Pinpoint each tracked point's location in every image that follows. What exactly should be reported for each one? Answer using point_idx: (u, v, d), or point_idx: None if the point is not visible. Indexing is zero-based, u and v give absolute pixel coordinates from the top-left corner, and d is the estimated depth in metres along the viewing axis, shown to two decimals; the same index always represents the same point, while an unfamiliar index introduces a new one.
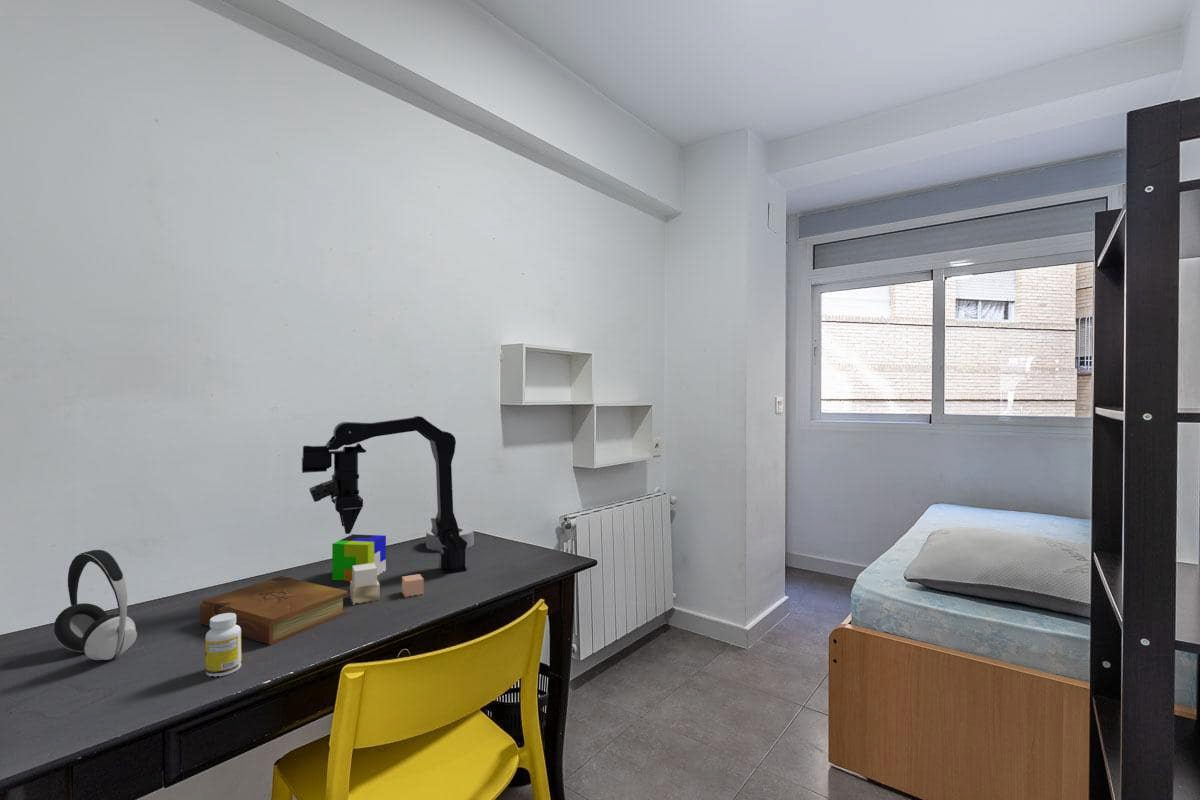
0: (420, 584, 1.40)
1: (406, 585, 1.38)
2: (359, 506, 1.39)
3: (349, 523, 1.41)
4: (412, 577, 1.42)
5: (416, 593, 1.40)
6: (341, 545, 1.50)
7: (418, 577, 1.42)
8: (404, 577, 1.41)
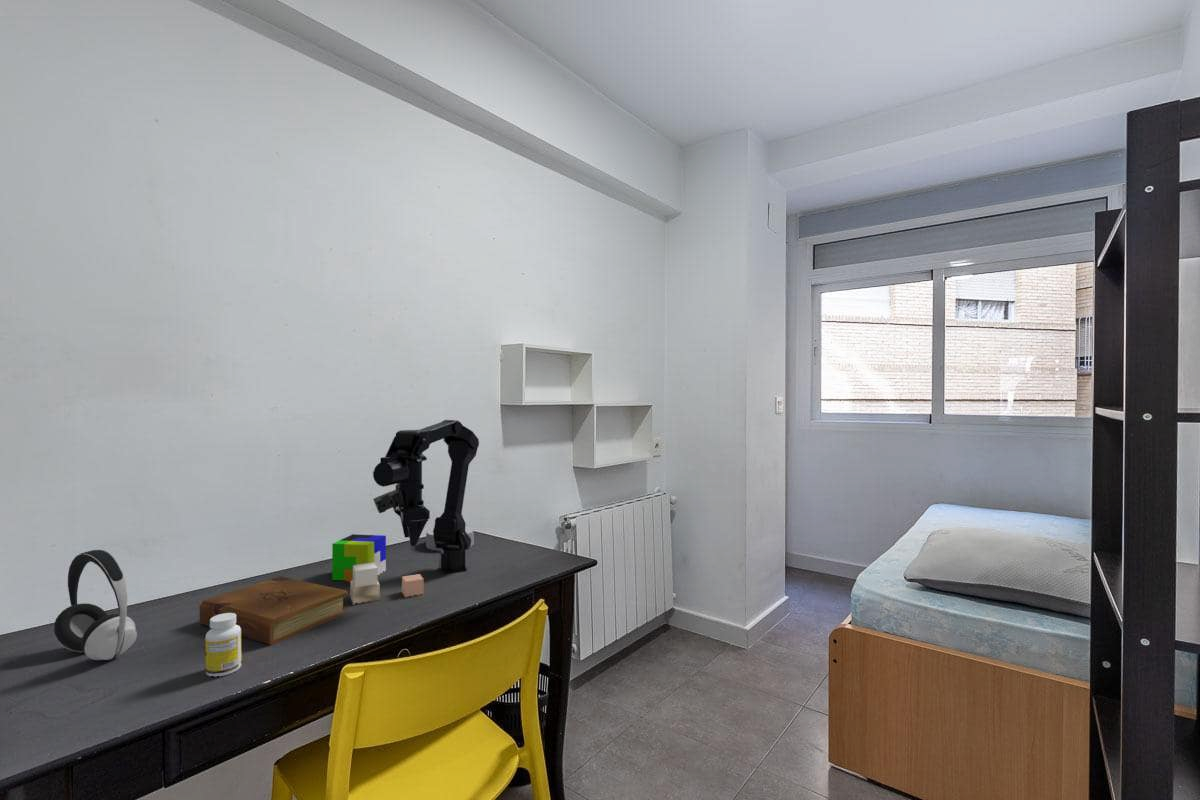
0: (420, 584, 1.40)
1: (406, 585, 1.38)
2: (426, 518, 1.34)
3: (415, 535, 1.37)
4: (412, 577, 1.42)
5: (416, 593, 1.40)
6: (341, 545, 1.50)
7: (418, 577, 1.42)
8: (404, 577, 1.41)
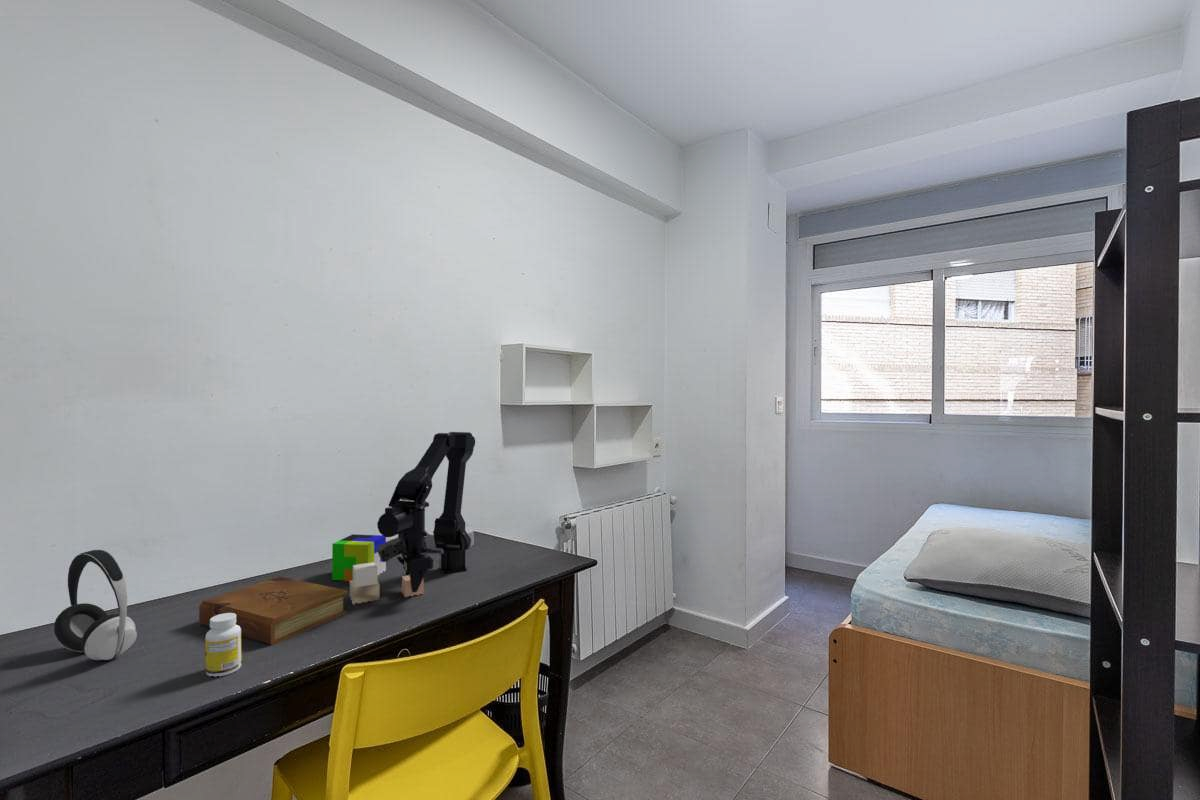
0: None
1: (406, 585, 1.38)
2: (430, 567, 1.34)
3: (416, 581, 1.39)
4: None
5: (416, 593, 1.40)
6: (341, 545, 1.50)
7: None
8: (404, 577, 1.41)
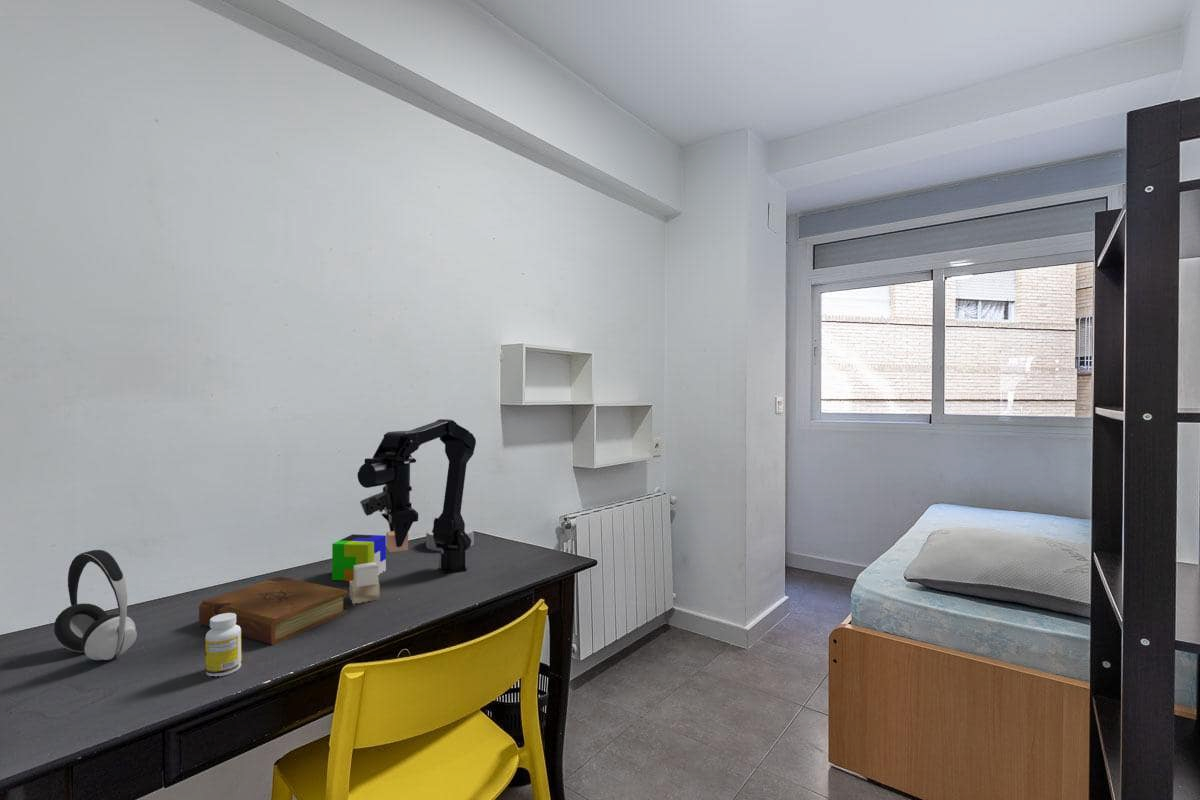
0: (405, 539, 1.39)
1: (390, 539, 1.37)
2: (415, 520, 1.33)
3: (401, 536, 1.37)
4: None
5: (400, 548, 1.38)
6: (341, 545, 1.50)
7: None
8: (388, 532, 1.40)
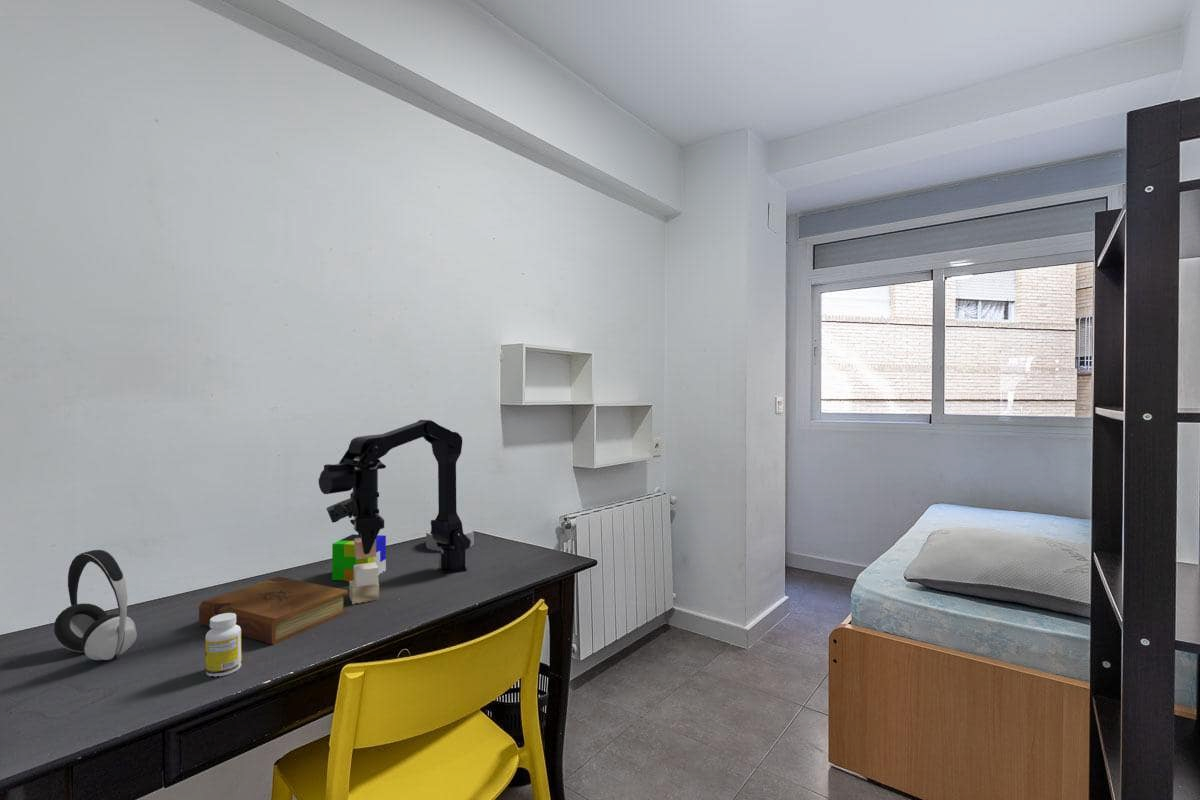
0: (373, 545, 1.36)
1: (357, 546, 1.35)
2: (380, 527, 1.30)
3: (368, 543, 1.35)
4: None
5: (368, 555, 1.36)
6: (341, 545, 1.50)
7: None
8: (356, 539, 1.38)
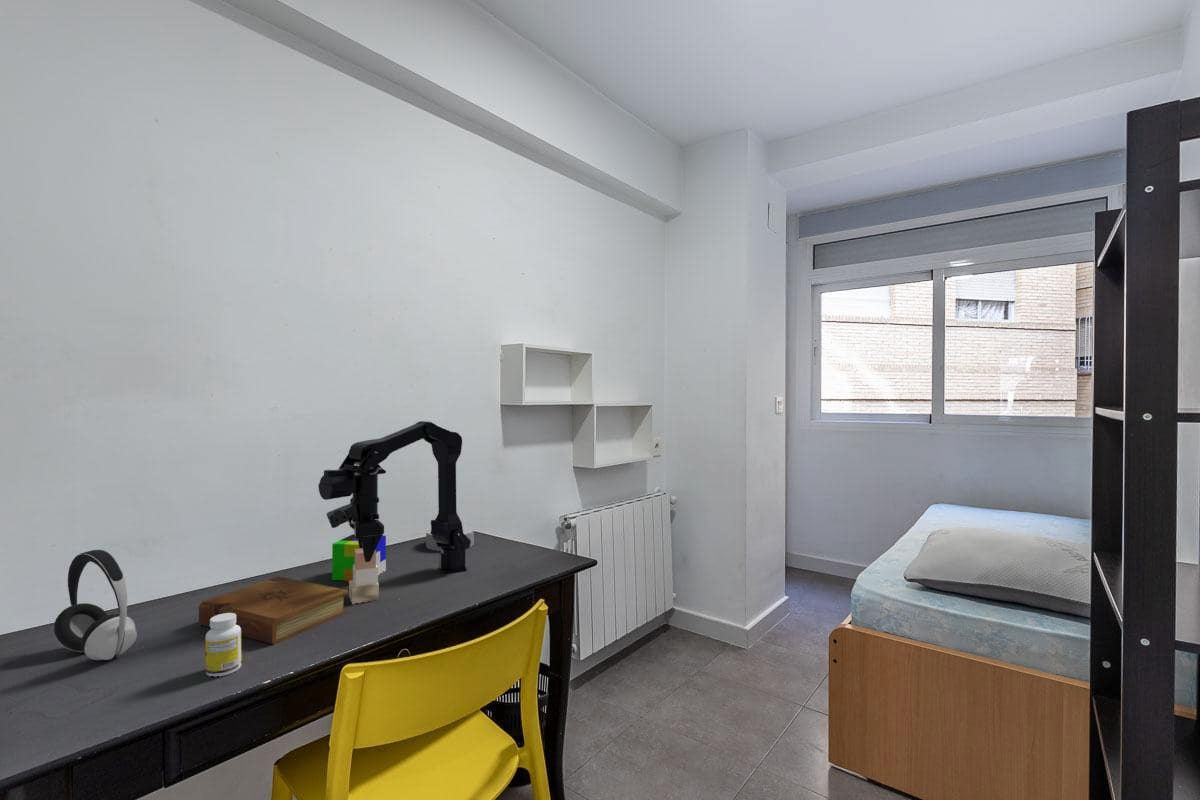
0: (372, 556, 1.36)
1: (357, 557, 1.35)
2: (380, 533, 1.30)
3: (369, 550, 1.33)
4: None
5: (368, 566, 1.36)
6: (341, 545, 1.50)
7: None
8: (356, 549, 1.38)
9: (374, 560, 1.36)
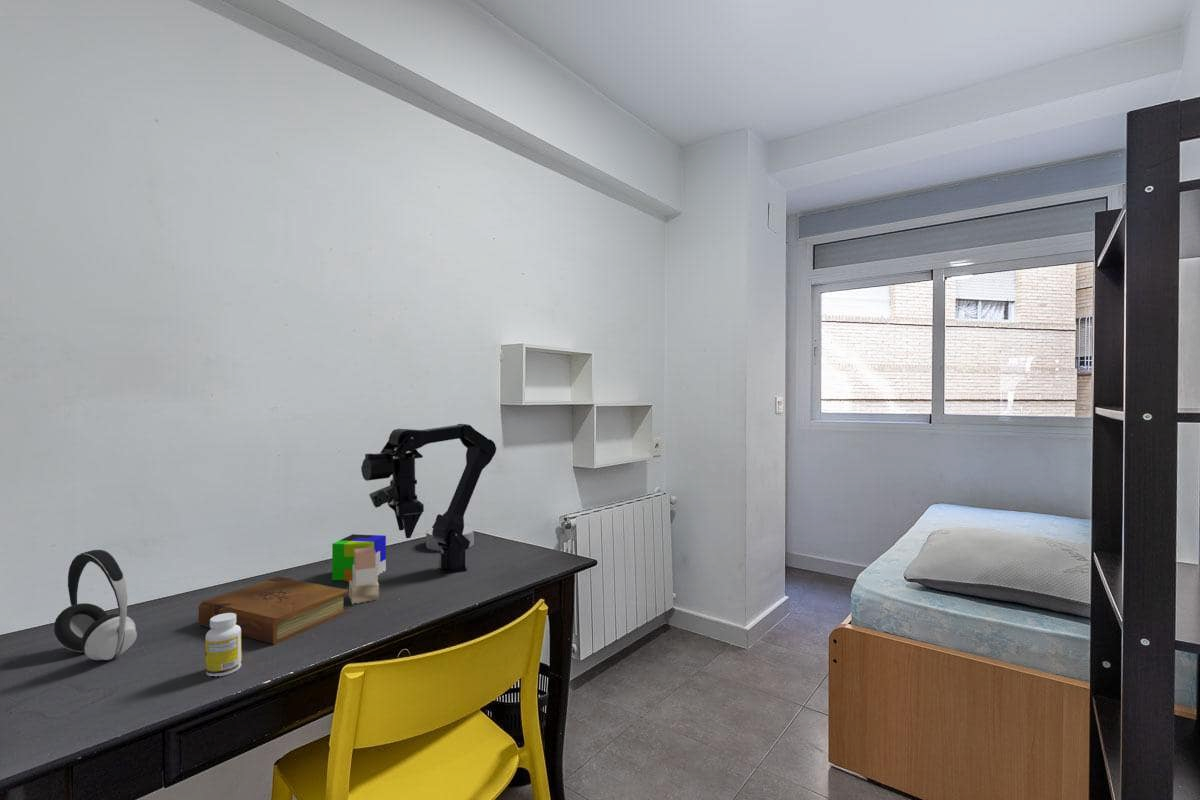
0: (372, 556, 1.36)
1: (357, 557, 1.35)
2: (420, 511, 1.42)
3: (410, 528, 1.45)
4: (364, 549, 1.38)
5: (367, 566, 1.36)
6: (341, 545, 1.50)
7: (370, 549, 1.38)
8: (356, 549, 1.38)
9: (374, 560, 1.37)
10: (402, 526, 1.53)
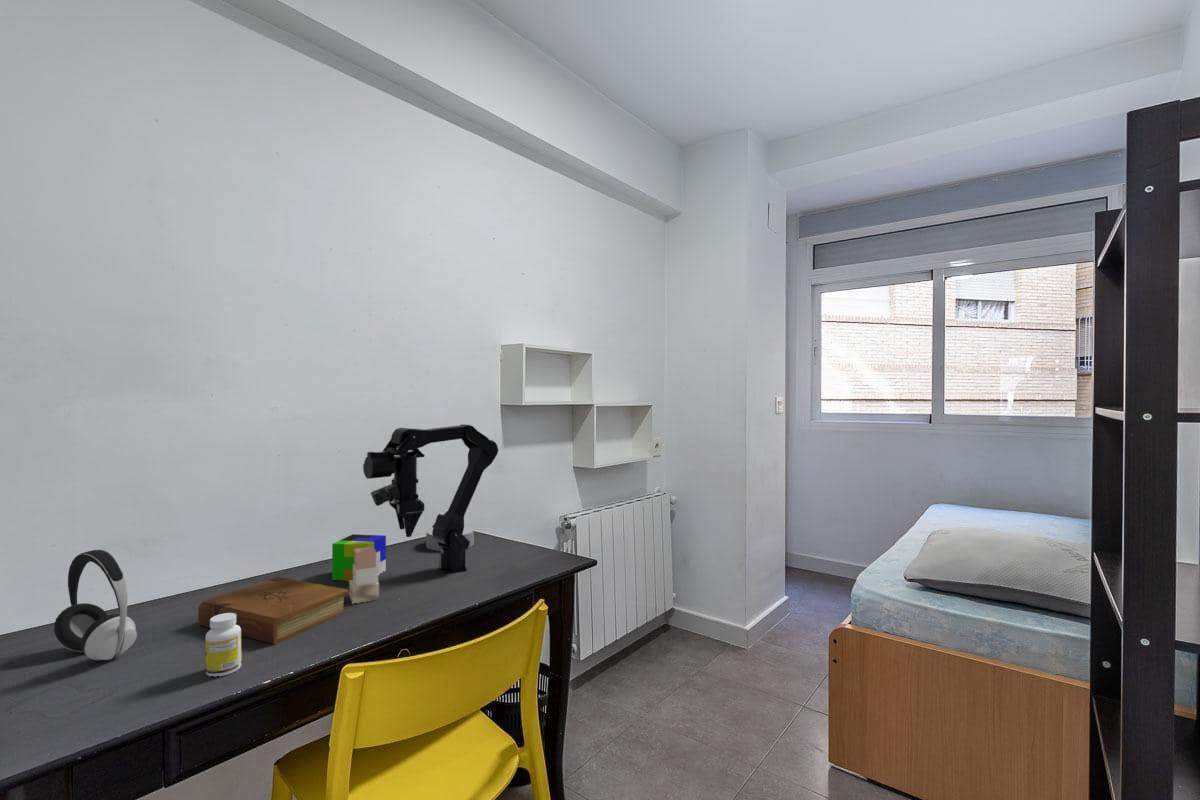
0: (372, 556, 1.37)
1: (357, 557, 1.35)
2: (421, 510, 1.43)
3: (410, 526, 1.45)
4: (364, 549, 1.38)
5: (368, 565, 1.36)
6: (341, 545, 1.50)
7: (371, 549, 1.38)
8: (356, 549, 1.38)
9: (374, 560, 1.37)
10: (403, 525, 1.54)
